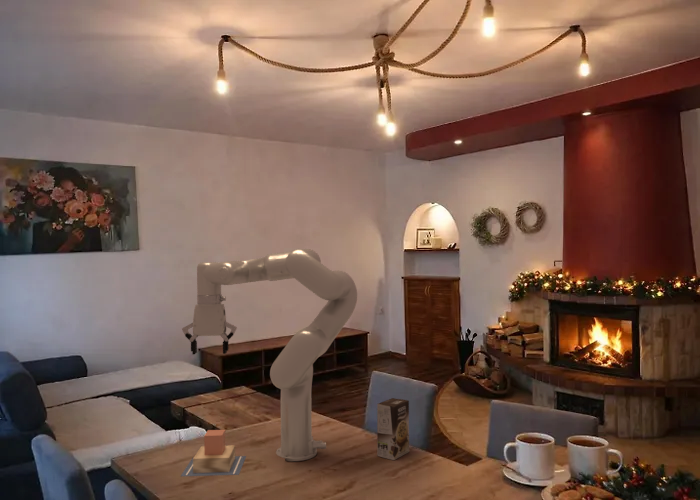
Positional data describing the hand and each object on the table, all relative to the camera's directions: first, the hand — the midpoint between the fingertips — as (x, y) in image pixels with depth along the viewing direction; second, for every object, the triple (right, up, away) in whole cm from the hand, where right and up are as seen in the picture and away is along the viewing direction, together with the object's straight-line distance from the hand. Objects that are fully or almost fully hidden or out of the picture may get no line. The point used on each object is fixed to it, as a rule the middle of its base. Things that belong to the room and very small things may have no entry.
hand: (209, 353), depth 176 cm
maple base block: (+6, -29, -18) cm, 35 cm away
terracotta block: (+6, -25, -18) cm, 31 cm away
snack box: (+59, -30, -8) cm, 66 cm away
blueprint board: (+6, -30, -18) cm, 36 cm away
